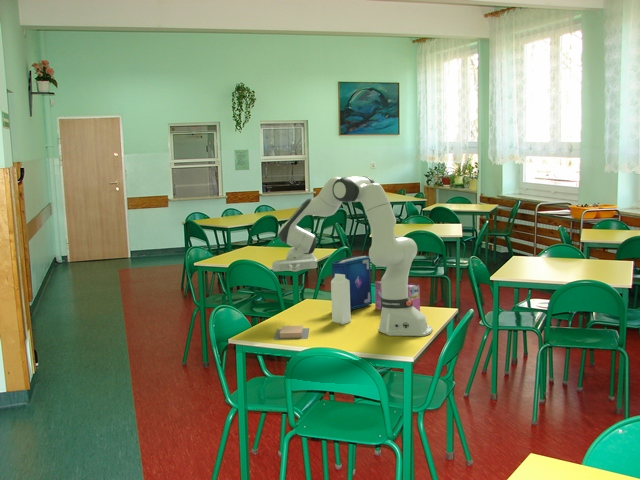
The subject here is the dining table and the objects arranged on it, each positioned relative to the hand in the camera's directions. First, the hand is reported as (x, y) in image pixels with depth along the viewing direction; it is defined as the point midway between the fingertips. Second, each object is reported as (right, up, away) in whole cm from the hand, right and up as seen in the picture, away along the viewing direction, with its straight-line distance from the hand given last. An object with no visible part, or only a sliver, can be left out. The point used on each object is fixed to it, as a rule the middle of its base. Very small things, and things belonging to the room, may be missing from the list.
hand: (294, 268), depth 283 cm
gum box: (+48, -22, +27) cm, 59 cm away
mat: (-1, -27, -11) cm, 30 cm away
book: (+27, -21, +36) cm, 50 cm away
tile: (-1, -25, -7) cm, 26 cm away
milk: (+21, -25, +8) cm, 33 cm away
